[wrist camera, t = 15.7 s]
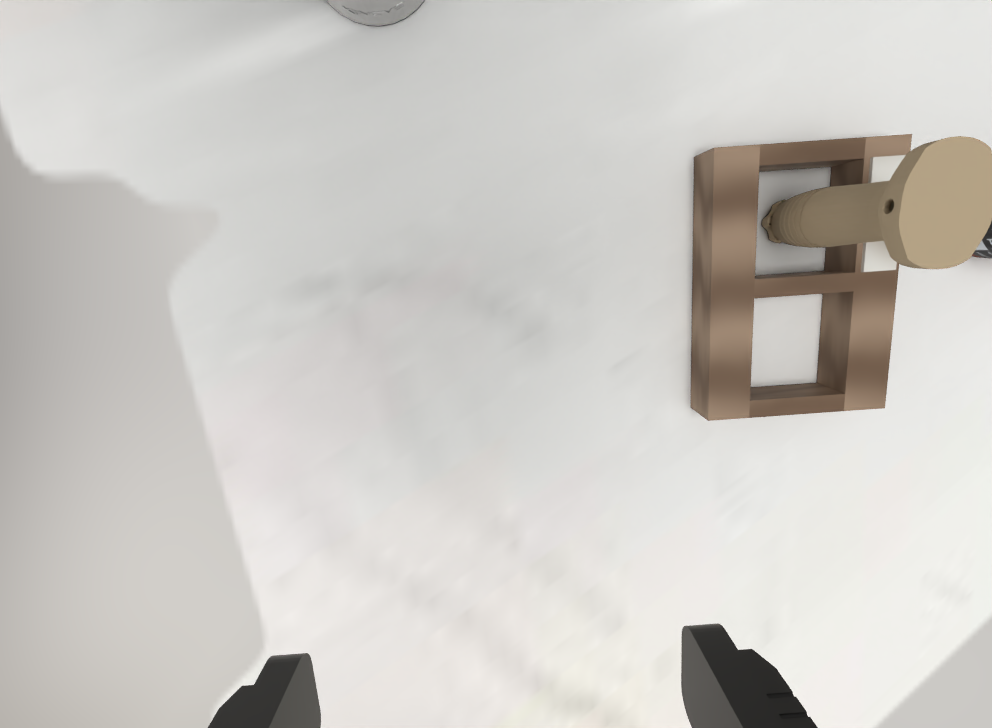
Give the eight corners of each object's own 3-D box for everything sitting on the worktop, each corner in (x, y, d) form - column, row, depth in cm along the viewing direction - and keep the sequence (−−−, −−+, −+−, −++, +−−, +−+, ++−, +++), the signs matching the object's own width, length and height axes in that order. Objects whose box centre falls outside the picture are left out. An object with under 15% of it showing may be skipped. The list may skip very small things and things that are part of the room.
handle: (815, 179, 40) (1008, 136, 25) (805, 263, 41) (982, 268, 26) (754, 180, 40) (911, 136, 25) (746, 263, 41) (891, 269, 26)
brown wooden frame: (694, 157, 39) (716, 146, 35) (874, 144, 39) (915, 133, 35) (690, 407, 43) (709, 421, 40) (853, 395, 43) (887, 409, 40)
